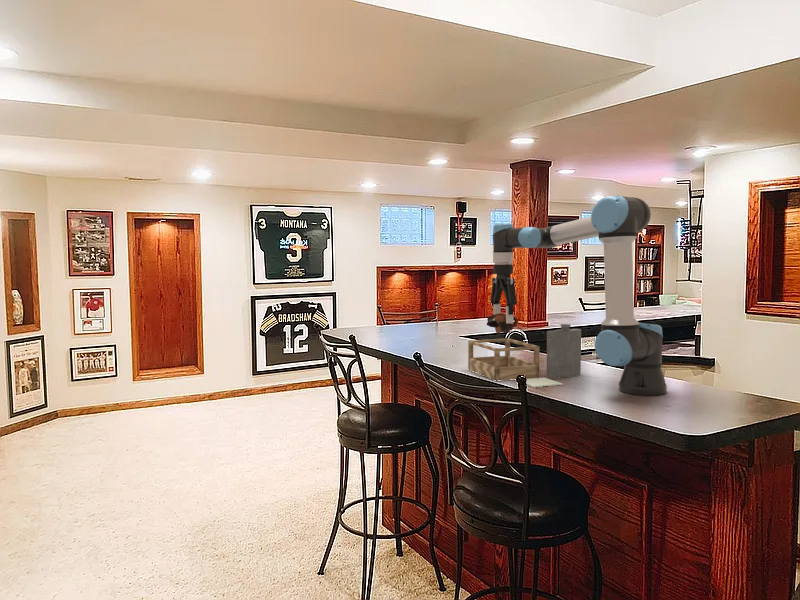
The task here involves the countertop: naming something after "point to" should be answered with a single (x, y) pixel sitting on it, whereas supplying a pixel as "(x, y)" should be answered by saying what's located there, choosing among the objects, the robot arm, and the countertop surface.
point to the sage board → (541, 382)
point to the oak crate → (503, 361)
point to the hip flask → (563, 352)
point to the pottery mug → (501, 323)
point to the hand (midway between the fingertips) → (503, 322)
